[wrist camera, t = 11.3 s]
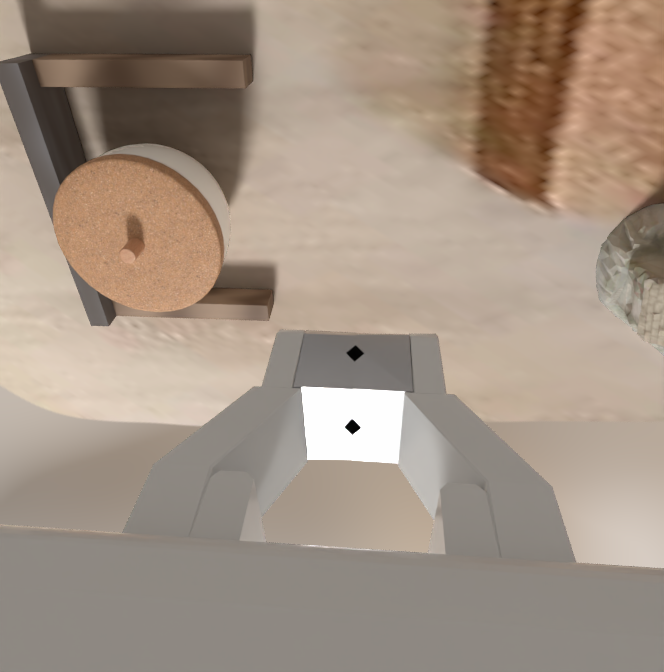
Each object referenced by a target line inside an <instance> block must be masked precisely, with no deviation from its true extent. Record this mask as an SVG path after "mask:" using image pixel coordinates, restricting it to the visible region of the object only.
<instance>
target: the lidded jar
mask: <svg viewBox="0 0 664 672" xmlns="http://www.w3.org/2000/svg"><path fill="white" fill-rule="evenodd" d="M53 224H54V230H55V234H56V237H57V240H58V243H59V246H60V248H61V249H62V251H63V253H64V255H65V257H66V258H67V260H68V262H69V263H70V265H71V266H72V267H73V269H74V270H75V271H76V272H77V273H78V274H79V275H80V277H82V278H83V279H84V280H85V281H86V282H87V283H88V284H89V285H90V286H91V287H93V288H94V289H95V290H97V291H98V292H100V293H101V294H103V295H104V296H106V297H108V298H109V299H111V300H113V301H115V302H117V303H120V304H122V305H125V306H128V307H131V308H134V309H138V310H143V311H151V312H168V311H175V310H180V309H183V308H186V307H188V306H191V305H193V304H194V303H196V302H198V301H199V300H201V299H202V298H203V297H204V296H205V295H206V294H207V293H208V292H209V291H210V290H211V288H212V287H213V286H214V284H215V282H216V280H217V278H218V276H219V274H220V272H221V268H222V264H223V262H224V259H225V257H226V254H227V250H228V246H229V241H230V233H231V220H230V212H229V208H228V204H227V201H226V199H225V196H224V194H223V192H222V189H221V188H220V186H219V184H218V183H217V181H216V180H215V178H214V177H213V176H212V175H211V173H210V172H209V171H208V170H207V169H206V168H205V167H204V166H203V165H202V164H200V163H199V162H198V161H196V160H195V159H194V158H192V157H191V156H189V155H187V154H185V153H183V152H181V151H179V150H176V149H173V148H171V147H167V146H163V145H158V144H147V143H144V144H134V145H126V146H123V147H120V148H116V149H113V150H110V151H108V152H106V153H104V154H102V155H100V156H99V157H97V158H94V159H91V160H90V161H88V162H86V163H84V164H82V165H80V166H79V167H77V168H76V169H75V170H74V171H72V172H71V173H70V174H69V175H68V176H67V177H66V178H65V179H64V181H63V182H62V183H61V185H60V186H59V189H58V191H57V193H56V195H55V200H54V204H53Z"/></svg>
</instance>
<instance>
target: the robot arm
mask: <svg viewBox="0 0 664 672" xmlns="http://www.w3.org/2000/svg"><path fill="white" fill-rule="evenodd" d="M307 459H336V460H359V461H372V462H385V463H398V466H399V468H400V469H401V471H402V472H403V474H404V475H405V477H406V478H407V480H408V482H409V483H410V485H411V486H412V488H413V489H414V491H415V492H416V494H417V495H418V496H419V498H420V500H421V501H422V503H423V504H424V506H425V507H426V509H427V510H428V512H429V513H430V515H431V517H432V518H433V520H434V524H433V529H432V534H431V540H430V545H429V550H428V553H419V552H404V551H388V550H373V549H359V548H343V547H329V546H313V545H300V544H285V543H270V542H269V543H268V542H266V537H265V533H264V528H263V522H262V516H263V515H264V514H265V512H266V511H267V510H268V509H269V508H270V506H271V505H272V504H273V503H274V502H275V500H276V499H277V498H278V497H279V496H280V494H281V493H282V492H283V491H284V490H285V488H286V487H287V486H288V484H289V483H290V482H291V481H292V480H293V479H294V477H295V476H296V475H297V474H298V473H299V471H300V470H301V469H302V468H303V466H304V465H305V464H306V463H307ZM0 672H664V568H649V567H634V566H633V567H632V566H618V565H604V564H589V563H576V560H575V557H574V554H573V551H572V548H571V544H570V541H569V538H568V535H567V532H566V529H565V526H564V523H563V519H562V516H561V513H560V510H559V506H558V503H557V500H556V497H555V494H554V491H553V488H552V486H551V485H550V484H549V483H548V482H547V481H546V480H544V479H543V478H542V477H541V476H540V475H539V474H538V473H537V472H536V471H535V470H534V469H533V468H532V467H531V466H530V465H529V464H528V463H527V462H525V461H524V460H523V459H522V458H521V457H520V456H519V455H518V454H517V453H516V452H515V451H514V450H513V449H512V448H511V447H510V446H509V445H508V444H506V443H505V442H504V441H503V440H502V439H501V438H500V437H499V436H498V435H497V434H496V433H495V432H494V431H493V430H492V429H491V428H490V427H488V426H487V425H486V424H485V423H484V422H483V421H482V420H481V419H480V418H479V417H478V416H477V415H476V414H475V413H474V412H473V411H472V410H471V409H469V408H468V407H467V406H466V405H465V404H464V403H463V402H462V401H461V400H460V399H459V398H458V397H457V396H456V395H454V394H446V388H445V381H444V374H443V367H442V361H441V354H440V347H439V340H438V336H437V335H436V334H409V335H407V334H368V333H350V332H331V331H312V330H306V331H304V330H284V329H280V330H279V332H278V333H277V334H276V338H275V341H274V345H273V348H272V352H271V355H270V359H269V362H268V366H267V369H266V373H265V376H264V380H263V383H262V387H255V386H254V387H253V388H251V389H250V390H249V391H247V392H246V393H245V394H244V395H242V396H241V397H240V398H238V399H237V400H236V401H234V402H233V403H232V404H231V405H229V406H228V407H227V408H225V409H224V410H223V411H222V412H220V413H219V414H218V415H216V416H215V417H214V418H213V419H211V420H210V421H209V422H207V423H206V424H205V425H203V426H202V427H201V428H200V429H198V430H197V431H196V432H194V433H193V434H192V435H191V436H189V437H188V438H187V439H185V440H184V441H183V442H182V443H181V444H179V445H178V446H176V447H175V448H174V449H173V450H171V451H170V452H169V453H167V454H166V455H165V456H164V457H162V458H161V459H160V460H158V461H157V462H156V463H154V464H153V466H152V469H151V471H150V473H149V475H148V477H147V480H146V482H145V484H144V486H143V489H142V491H141V493H140V495H139V497H138V499H137V501H136V504H135V506H134V508H133V510H132V512H131V515H130V517H129V519H128V521H127V523H126V526H125V528H124V530H123V532H122V533H120V532H105V531H90V530H74V529H60V528H45V527H28V526H15V525H0Z"/></svg>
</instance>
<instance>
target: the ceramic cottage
mask: <svg viewBox="0 0 664 672" xmlns="http://www.w3.org/2000/svg"><path fill="white" fill-rule="evenodd" d="M596 283H597V285H596V286H597V289H598V290H597V291H598V294H599V300H600V301H601V303H602V304H603V305H605V306H606V308H607V309H608V310H610V311H611V312H612V313H613V314H614V315H615V316H616V317H618V318H619V319H621V320H622V321H624V322H625V323H626V324H627V325H628V326H630V327H632V329H633V331H635V332H637V334H638V335H639V336H640V338H641V339H642V340H643V341H644V342H648V343H650V344H651V345H652V346H653V347H654V348H656V349H657V350H658V351H659V352H660V353H661V354H662V355H663V356H664V203H661V204H654V205H651V206H648V207H645V208H643V209H641V210H639V211H637V212H636V213H634V214H632V215H630V216H627V218H626V219H624V220H623V221H622V222H621V223H620V224H619V225H618V226H617V227H616V228H615V229H614V230H613V231H612V232H611V233H610V234H609V236H608V237H607V240H606V241H605V242H604V243H603V244H602V247H601V250H600V254H599V257H598V260H597V265H596Z"/></svg>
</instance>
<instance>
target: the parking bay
mask: <svg viewBox="0 0 664 672" xmlns="http://www.w3.org/2000/svg"><path fill="white" fill-rule="evenodd" d="M252 81H253V75H252V64H251V55H223V54H28V55H24V56H20V57H16V58H12V59H8V60H4V61H0V83H1V86H2V89H3V91H4V94H5V97H6V100H7V102H8V105H9V108H10V110H11V113H12V116H13V118H14V121H15V124H16V126H17V129H18V132H19V134H20V137H21V140H22V142H23V145H24V148H25V150H26V153H27V156H28V158H29V161H30V164H31V166H32V169H33V172H34V174H35V177H36V180H37V182H38V185H39V188H40V190H41V193H42V196H43V198H44V201H45V204H46V206H47V209H48V212H49V214H50V217H51V220H52V222H53V204H54V200H55V195H56V193H57V191H58V189H59V186H60V185H61V183H62V182H63V181H64V179H65V178H66V177H67V176H68V175H69V174H70V173H71V172H72V171H74V170H75V169H76V168H77V167H79V166H80V165H82V164H84V163H86V160H85V157H84V153H83V150H82V147H81V144H80V140H79V137H78V134H77V130H76V127H75V124H74V121H73V117H72V114H71V111H70V108H69V104H68V101H67V98H66V94H65V91H64V88H63V87H130V88H246V87H247V86H248V85H249V84H250V83H251V82H252ZM53 225H54V224H53ZM66 260H67V258H66ZM67 262H68V260H67ZM68 265H69V268H70V270H71V273H72V276H73V278H74V281H75V284H76V286H77V289H78V292H79V294H80V297H81V300H82V303H83V305H84V308H85V311H86V313H87V316H88V319H89V321H90V324H91V326H109V325H110V324H111V323H112V321H113V320H114V318H115V317H116V316H138V317H168V318H198V319H228V320H258V321H269V318H270V315H271V312H272V308H273V305H274V303H273V292H272V290H268V289H235V288H211V290H210V291H209V292H208V293H207V294H206V295H205V296H204V297H203V298H202V299H201V300H199V301H198V302H196V303H194V304H193V305H191V306H188V307H186V308H183V309H180V310H175V311H168V312H151V311H143V310H138V309H134V308H131V307H128V306H125V305H122V304H120V303H117V302H115V301H113V300H111V299H109V298H108V297H106V296H104V295H103V294H101V293H100V292H98V291H97V290H95V289H94V288H93V287H91V286H90V285H89V284H88V283H87V282H86V281H85V280H84V279H83V278H82V277H80V275H79V274H78V273H77V272H76V271H75V270H74V269H73V267H72V266H71V265H70V263H69V262H68Z"/></svg>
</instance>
